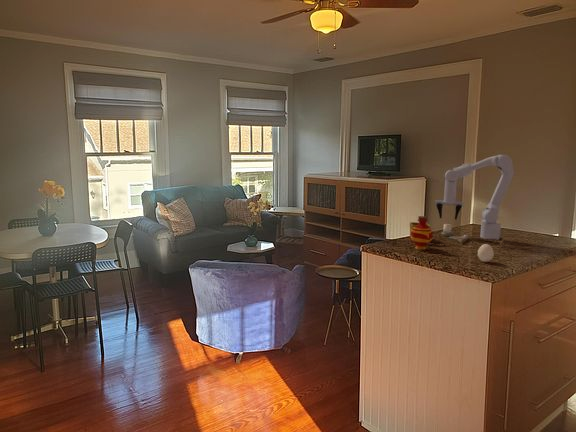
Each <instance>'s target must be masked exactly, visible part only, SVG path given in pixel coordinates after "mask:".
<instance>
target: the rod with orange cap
mask: <svg viewBox="0 0 576 432" xmlns="http://www.w3.org/2000/svg"><path fill="white" fill-rule="evenodd" d="M461 236H462V237H458V238H457V239H456V240H457V242H461V241H464V240H463V239H465V238H466V237H467V238H468V237H469V235H468V234H462V235H461Z"/></svg>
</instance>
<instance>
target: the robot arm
mask: <svg viewBox="0 0 576 432" xmlns="http://www.w3.org/2000/svg"><path fill="white" fill-rule="evenodd" d="M513 163H514V161H513V160H512V159H511V156H509V155H507V154H496V155H493V156H490V157H486V158H484V159H482V160H479V161H477V162H474V163H472V164H470V163H463V164H461V165H460V166H458V167H453V169H449V170H447V171H446V172H445V174H444V178H445V183H444V191H443V193H444V194H443V199H442V200H440V199H439V200H437V199H435V200H434V205H435V206H436V209H437V211H438V214H439V219H442V218H443V217H442V216H443V205H446V206H455V214H454V215H455V216H454V220H457V219H458V215H459V213H460V210H461V209H462V207H465V202H464V201H456V198H457V197H456V195H457V180H458V179H462V178H465V177H468V176H469V175H473V171H476V170H479V169H483V168H485V167H488V166H494V167H497V169H498V170H499V171H500V173H501V176H500V179H499V181H498V182H497V185H496V187H495V189H494V192H493V194H492V196H491V199H490V201H489V203H487V205H486V207H485V209H483V210H482V211H481V218H482V220H481V224H480V238H482V239H486V240H499V241H500V238H501V227H502V226H501V225H502V223H499V222H498V219H499V212H500V206H501V204H502V201H503V199H504V198H505V195H506V192H507V191H508V188H509V186H510V183H511V181H512V180H513V176H514V175H515V173H514V172H515V171H514V166H513Z"/></svg>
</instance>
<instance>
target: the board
mask: <svg viewBox="0 0 576 432" xmlns="http://www.w3.org/2000/svg"><path fill="white" fill-rule="evenodd" d="M462 236H463V235H461V236H460V235H453V236H448V239H455V240H458V239H457V238H458V237H462ZM466 240H467V241H468V237H466V238H465V239H463V240H462V241H466Z"/></svg>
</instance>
